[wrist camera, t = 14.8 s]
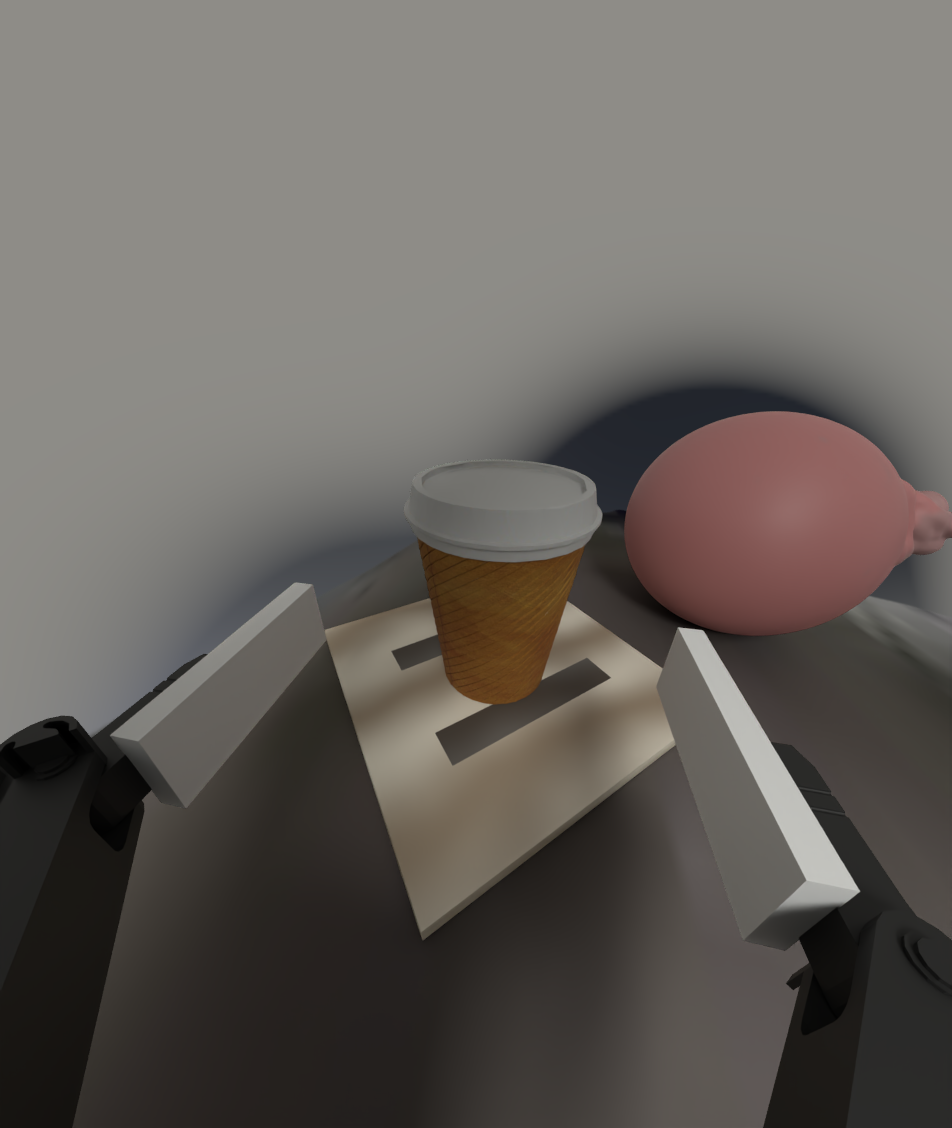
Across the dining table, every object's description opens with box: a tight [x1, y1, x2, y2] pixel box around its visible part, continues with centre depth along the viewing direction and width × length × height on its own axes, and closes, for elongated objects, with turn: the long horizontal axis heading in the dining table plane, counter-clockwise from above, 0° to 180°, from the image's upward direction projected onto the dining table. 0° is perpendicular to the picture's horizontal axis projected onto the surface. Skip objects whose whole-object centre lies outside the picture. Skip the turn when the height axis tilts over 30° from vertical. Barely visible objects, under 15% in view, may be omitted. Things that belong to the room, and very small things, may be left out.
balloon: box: [624, 412, 952, 636], centre depth 24 cm, size 15×20×15 cm
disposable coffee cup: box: [404, 460, 602, 705], centre depth 20 cm, size 10×10×12 cm
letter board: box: [324, 598, 676, 941], centre depth 23 cm, size 18×18×1 cm
